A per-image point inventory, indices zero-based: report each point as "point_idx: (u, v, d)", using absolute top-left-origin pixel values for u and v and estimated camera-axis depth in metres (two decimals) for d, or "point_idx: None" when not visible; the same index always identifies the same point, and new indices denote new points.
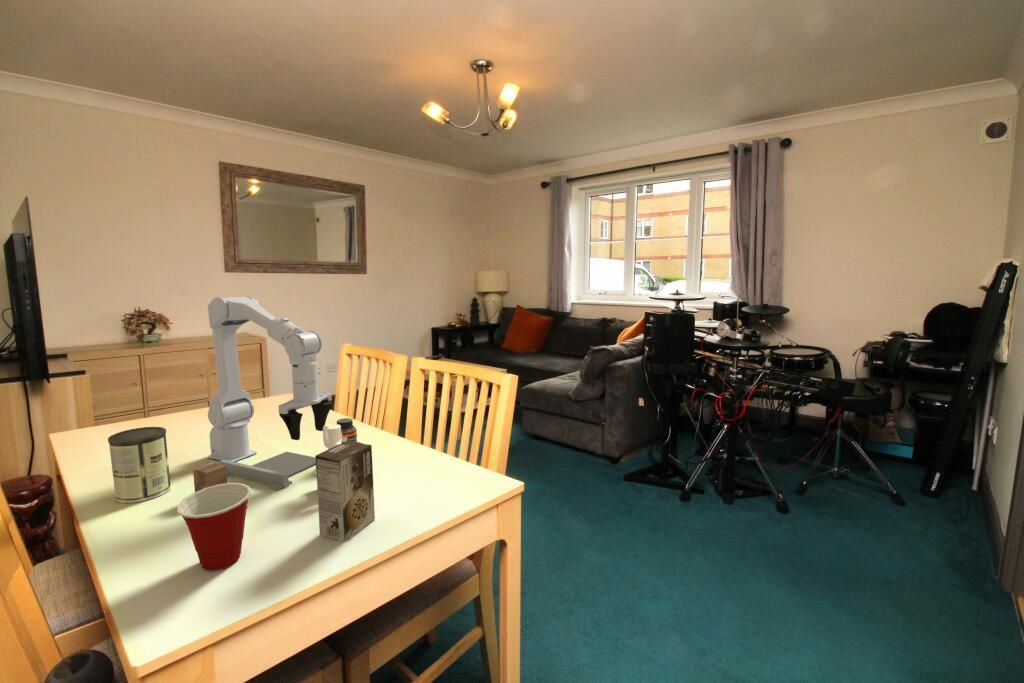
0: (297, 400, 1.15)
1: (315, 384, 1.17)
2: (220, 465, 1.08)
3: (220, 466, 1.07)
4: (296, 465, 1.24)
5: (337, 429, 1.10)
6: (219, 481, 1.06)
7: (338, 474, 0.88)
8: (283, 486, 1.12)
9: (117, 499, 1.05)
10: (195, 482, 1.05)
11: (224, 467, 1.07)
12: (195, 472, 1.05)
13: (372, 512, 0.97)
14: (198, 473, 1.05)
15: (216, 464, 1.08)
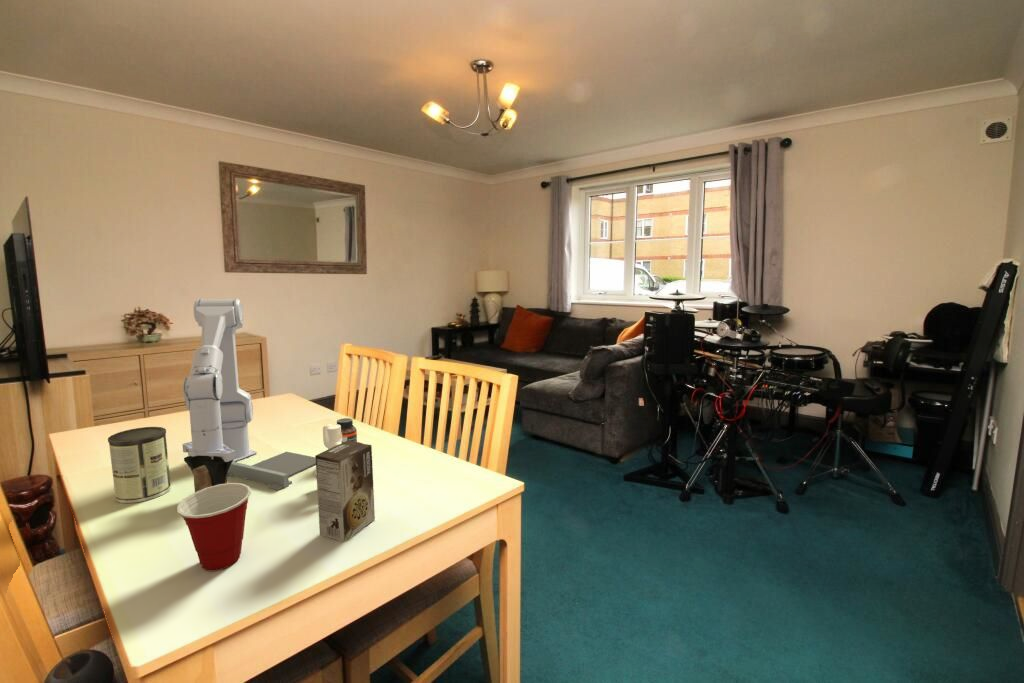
0: None
1: (195, 434, 1.03)
2: None
3: None
4: (296, 465, 1.24)
5: (337, 429, 1.10)
6: None
7: (338, 474, 0.88)
8: (283, 486, 1.12)
9: (117, 499, 1.05)
10: (195, 482, 1.05)
11: None
12: (195, 472, 1.05)
13: (372, 512, 0.97)
14: (198, 473, 1.05)
15: None
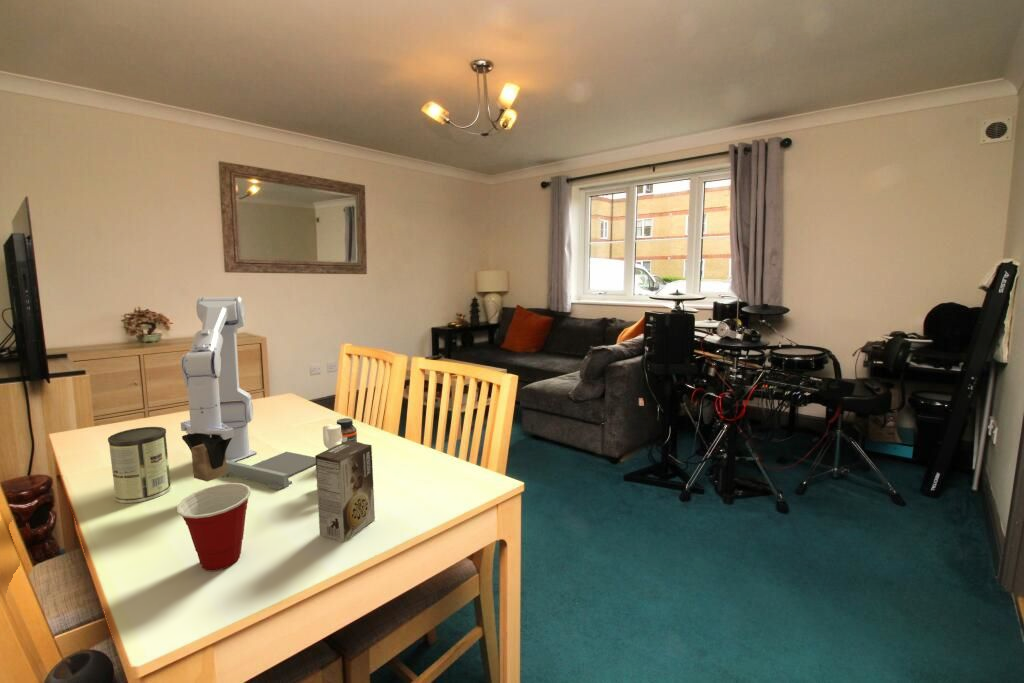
0: None
1: (193, 412, 1.02)
2: None
3: None
4: (296, 465, 1.24)
5: (337, 429, 1.10)
6: None
7: (338, 474, 0.88)
8: (283, 486, 1.12)
9: (117, 499, 1.05)
10: (193, 460, 1.05)
11: None
12: (193, 450, 1.04)
13: (372, 512, 0.97)
14: (196, 451, 1.04)
15: None
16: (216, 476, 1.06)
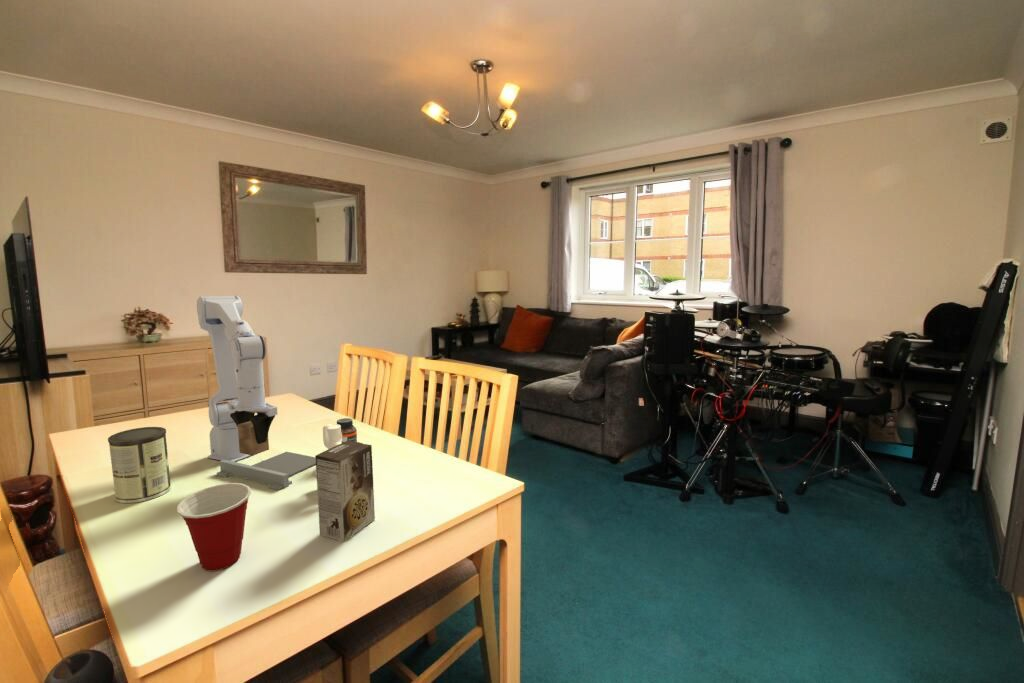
0: None
1: (242, 391, 1.12)
2: None
3: None
4: (296, 465, 1.24)
5: (337, 429, 1.10)
6: None
7: (338, 474, 0.88)
8: (283, 486, 1.12)
9: (117, 499, 1.05)
10: (239, 436, 1.15)
11: None
12: (240, 427, 1.14)
13: (372, 512, 0.97)
14: (242, 428, 1.14)
15: None
16: (260, 451, 1.16)
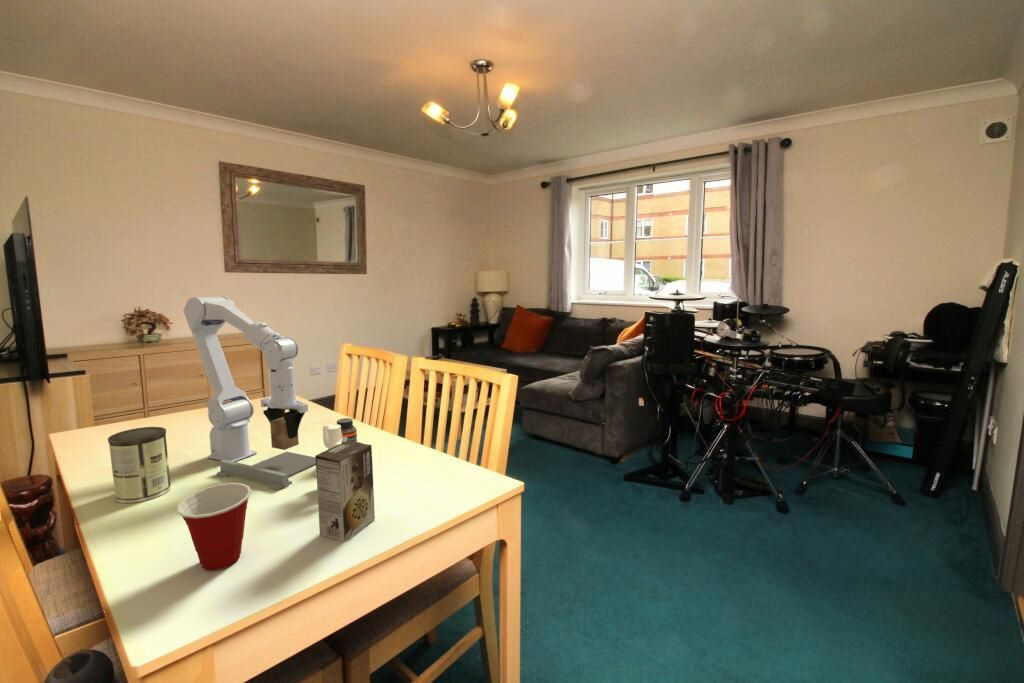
0: None
1: (275, 389, 1.21)
2: None
3: None
4: (296, 465, 1.24)
5: (337, 429, 1.10)
6: None
7: (338, 474, 0.88)
8: (283, 486, 1.12)
9: (117, 499, 1.05)
10: (272, 432, 1.23)
11: None
12: (272, 423, 1.23)
13: (372, 512, 0.97)
14: (275, 424, 1.22)
15: None
16: (290, 445, 1.24)
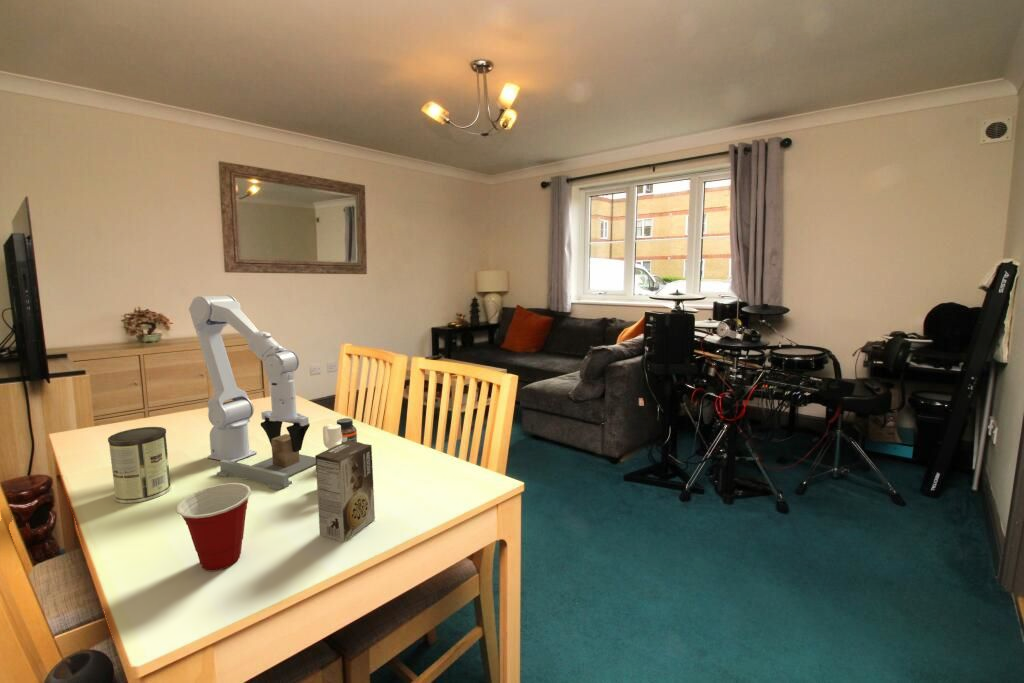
0: None
1: (276, 403, 1.21)
2: None
3: None
4: (296, 465, 1.24)
5: (337, 429, 1.10)
6: None
7: (338, 474, 0.88)
8: (283, 486, 1.12)
9: (117, 499, 1.05)
10: (273, 450, 1.24)
11: None
12: (273, 441, 1.23)
13: (372, 512, 0.97)
14: (276, 442, 1.23)
15: (289, 435, 1.26)
16: (291, 463, 1.25)
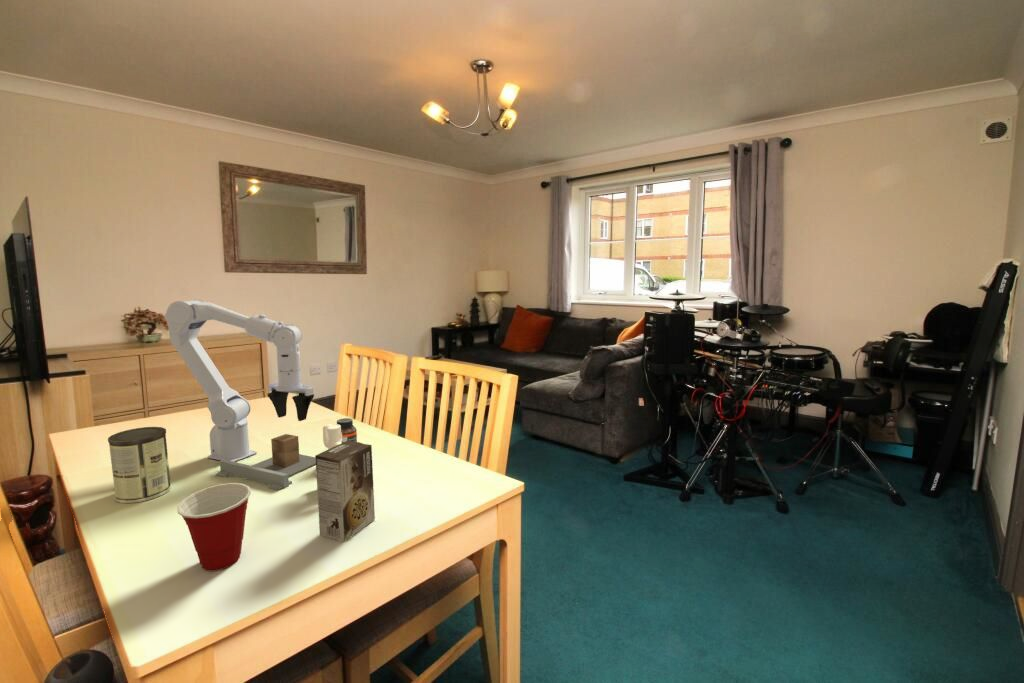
0: None
1: (282, 374, 1.28)
2: (293, 436, 1.26)
3: (293, 436, 1.25)
4: (296, 465, 1.24)
5: (337, 429, 1.10)
6: (293, 449, 1.25)
7: (338, 474, 0.88)
8: (283, 486, 1.12)
9: (117, 499, 1.05)
10: (273, 450, 1.24)
11: (296, 437, 1.26)
12: (273, 441, 1.23)
13: (372, 512, 0.97)
14: (276, 442, 1.23)
15: (289, 435, 1.26)
16: (291, 463, 1.25)
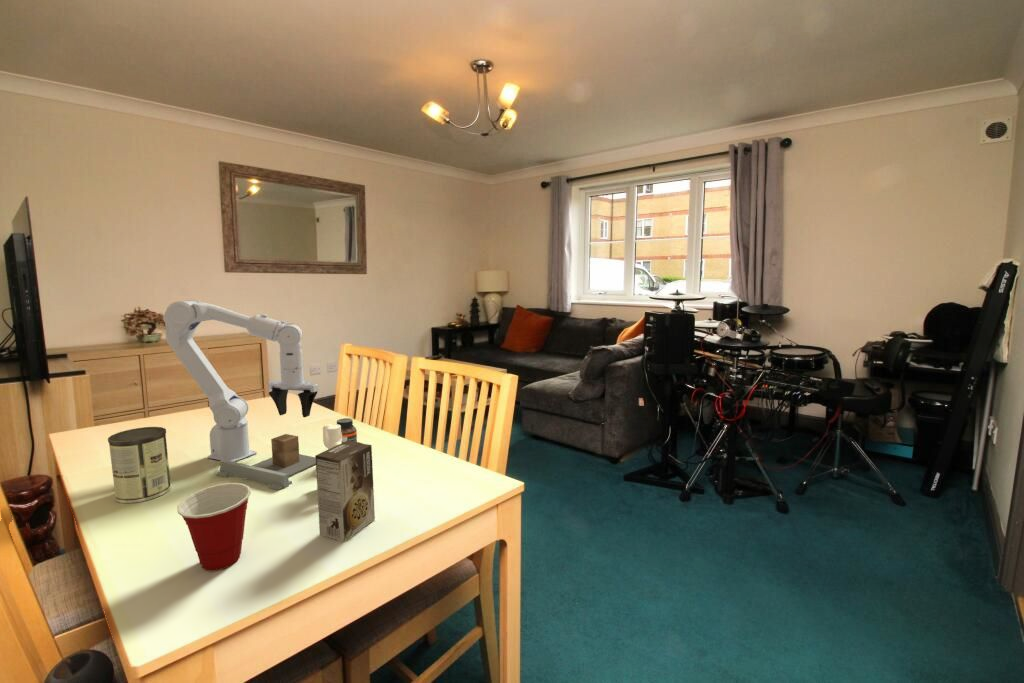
0: None
1: (286, 372, 1.30)
2: (293, 436, 1.26)
3: (293, 436, 1.25)
4: (296, 465, 1.24)
5: (337, 429, 1.10)
6: (293, 449, 1.25)
7: (338, 474, 0.88)
8: (283, 486, 1.12)
9: (117, 499, 1.05)
10: (273, 450, 1.24)
11: (296, 437, 1.26)
12: (273, 441, 1.23)
13: (372, 512, 0.97)
14: (276, 442, 1.23)
15: (289, 435, 1.26)
16: (291, 463, 1.25)
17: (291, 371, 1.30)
